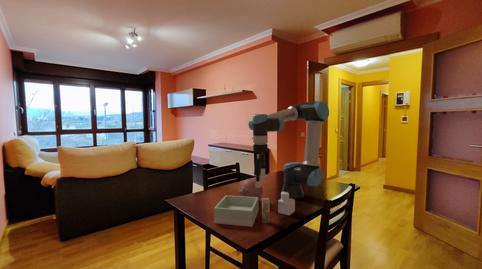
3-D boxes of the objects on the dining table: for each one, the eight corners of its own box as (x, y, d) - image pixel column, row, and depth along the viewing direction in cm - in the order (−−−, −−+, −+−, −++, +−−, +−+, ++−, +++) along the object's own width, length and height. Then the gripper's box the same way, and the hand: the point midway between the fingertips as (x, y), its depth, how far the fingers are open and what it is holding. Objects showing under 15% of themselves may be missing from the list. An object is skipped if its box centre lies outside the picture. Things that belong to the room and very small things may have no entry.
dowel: (270, 220, 119) (270, 198, 119) (269, 223, 116) (269, 200, 115) (262, 219, 120) (262, 197, 120) (261, 222, 117) (261, 200, 116)
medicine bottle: (283, 208, 134) (283, 189, 133) (295, 211, 130) (294, 191, 129) (277, 212, 129) (277, 192, 128) (289, 216, 124) (289, 194, 123)
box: (258, 210, 132) (258, 197, 131) (252, 226, 113) (252, 211, 112) (225, 208, 137) (225, 195, 136) (214, 223, 117) (214, 208, 117)
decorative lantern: (228, 205, 142) (228, 181, 140) (249, 196, 156) (249, 174, 155) (247, 211, 131) (246, 185, 130) (267, 201, 146) (267, 178, 145)
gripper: (257, 141, 131) (258, 177, 132) (247, 146, 107) (248, 190, 108) (270, 141, 129) (270, 178, 130) (263, 146, 105) (263, 191, 106)
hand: (260, 183), depth 119 cm, fingers open, 13 cm apart
